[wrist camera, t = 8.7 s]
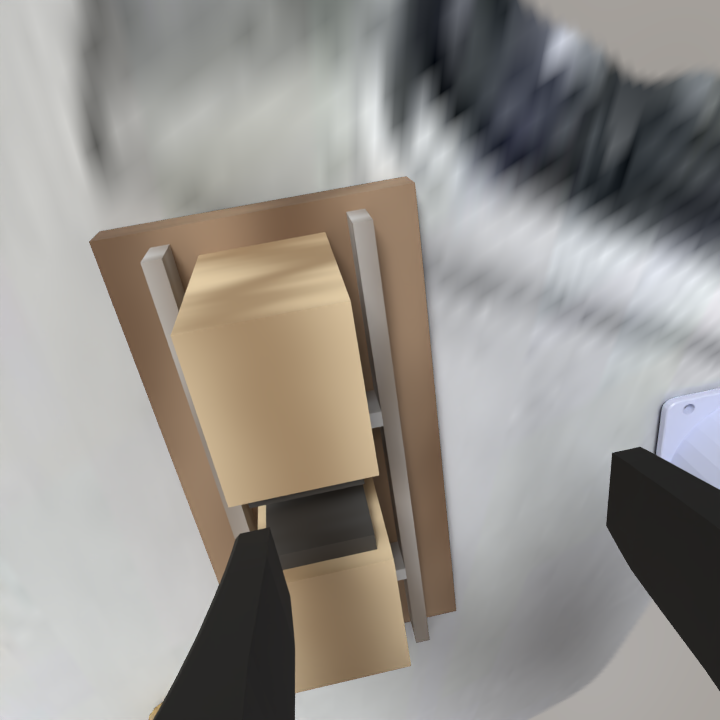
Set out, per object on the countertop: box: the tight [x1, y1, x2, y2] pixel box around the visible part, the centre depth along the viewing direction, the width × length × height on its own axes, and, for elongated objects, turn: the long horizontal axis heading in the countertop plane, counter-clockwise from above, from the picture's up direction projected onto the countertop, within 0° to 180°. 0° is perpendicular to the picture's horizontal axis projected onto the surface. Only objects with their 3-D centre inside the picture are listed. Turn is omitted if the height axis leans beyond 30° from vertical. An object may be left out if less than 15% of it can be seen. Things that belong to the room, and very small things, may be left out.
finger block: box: [258, 477, 411, 693], centre depth 20 cm, size 4×6×6 cm
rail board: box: [89, 176, 456, 643], centre depth 20 cm, size 10×20×7 cm, turn 8°
